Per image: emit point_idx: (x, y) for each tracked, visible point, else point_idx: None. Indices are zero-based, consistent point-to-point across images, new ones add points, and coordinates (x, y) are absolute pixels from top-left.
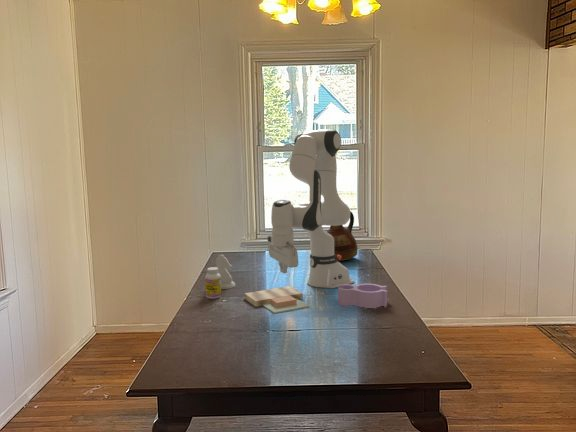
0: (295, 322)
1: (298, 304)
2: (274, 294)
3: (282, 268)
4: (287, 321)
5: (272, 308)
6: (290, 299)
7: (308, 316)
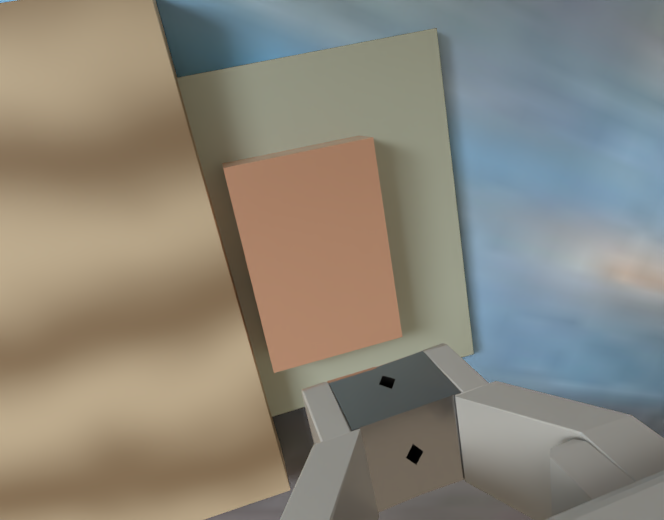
0: (660, 240)
1: (372, 120)
2: (127, 317)
3: (409, 476)
4: (624, 286)
5: (394, 355)
6: (350, 197)
7: (610, 117)
